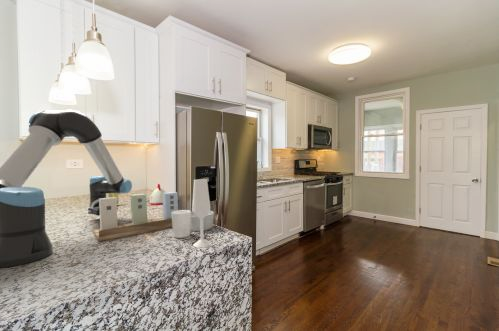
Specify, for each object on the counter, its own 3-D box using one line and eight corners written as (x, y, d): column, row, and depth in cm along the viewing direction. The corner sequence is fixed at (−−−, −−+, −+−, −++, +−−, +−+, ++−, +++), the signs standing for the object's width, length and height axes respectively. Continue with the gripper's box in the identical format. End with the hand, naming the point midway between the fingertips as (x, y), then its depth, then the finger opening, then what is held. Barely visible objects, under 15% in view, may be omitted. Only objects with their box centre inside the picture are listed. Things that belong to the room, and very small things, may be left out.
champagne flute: (205, 239, 93) (203, 178, 93) (215, 244, 88) (213, 179, 88) (189, 244, 89) (187, 179, 88) (199, 248, 84) (197, 180, 83)
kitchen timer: (150, 206, 171) (150, 185, 171) (148, 203, 183) (147, 184, 183) (170, 204, 178) (170, 184, 178) (167, 201, 190) (166, 182, 190)
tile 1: (100, 230, 104) (99, 198, 103) (115, 227, 107) (114, 196, 107) (101, 232, 100) (100, 199, 100) (117, 229, 104) (116, 197, 104)
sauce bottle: (107, 206, 175) (106, 179, 174) (116, 205, 179) (116, 178, 179) (110, 207, 170) (109, 179, 170) (120, 205, 175) (119, 178, 174)
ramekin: (179, 229, 109) (178, 214, 109) (200, 223, 120) (199, 209, 120) (200, 234, 102) (199, 217, 101) (220, 226, 113) (219, 211, 112)
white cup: (195, 235, 100) (194, 211, 100) (178, 239, 94) (177, 214, 94) (185, 231, 105) (184, 209, 105) (168, 236, 100) (167, 212, 99)
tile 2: (131, 224, 113) (130, 194, 113) (144, 221, 117) (144, 193, 117) (133, 225, 110) (132, 195, 110) (147, 223, 114) (146, 194, 114)
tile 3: (163, 221, 117) (162, 193, 117) (175, 219, 121) (174, 191, 121) (166, 223, 114) (165, 193, 114) (178, 220, 118) (177, 192, 117)
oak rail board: (93, 232, 107) (93, 223, 107) (172, 219, 130) (171, 211, 130) (98, 241, 95) (97, 231, 95) (184, 224, 117) (183, 216, 117)
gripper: (115, 212, 128) (125, 220, 110) (86, 216, 120) (91, 225, 102) (115, 198, 128) (124, 203, 110) (85, 201, 120) (91, 207, 102)
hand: (109, 214), depth 106 cm, fingers closed
